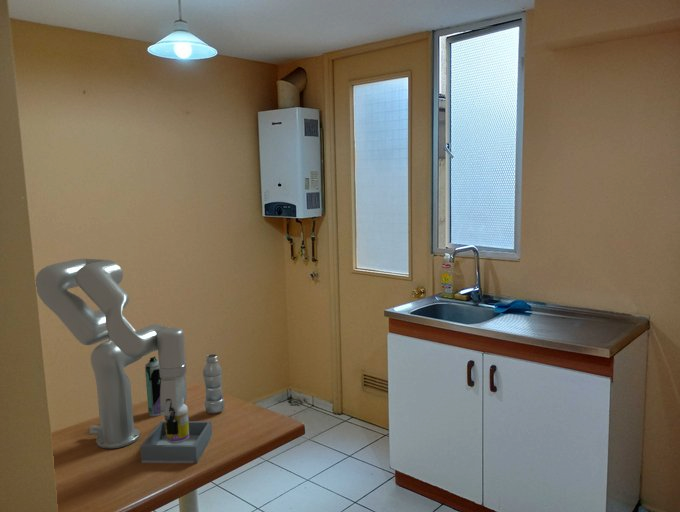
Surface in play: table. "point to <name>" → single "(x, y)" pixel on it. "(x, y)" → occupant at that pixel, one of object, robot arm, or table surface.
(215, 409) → the plastic bottle
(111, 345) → the robot arm
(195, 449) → the box
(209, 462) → the table surface
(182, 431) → the supplement bottle
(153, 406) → the spray can
